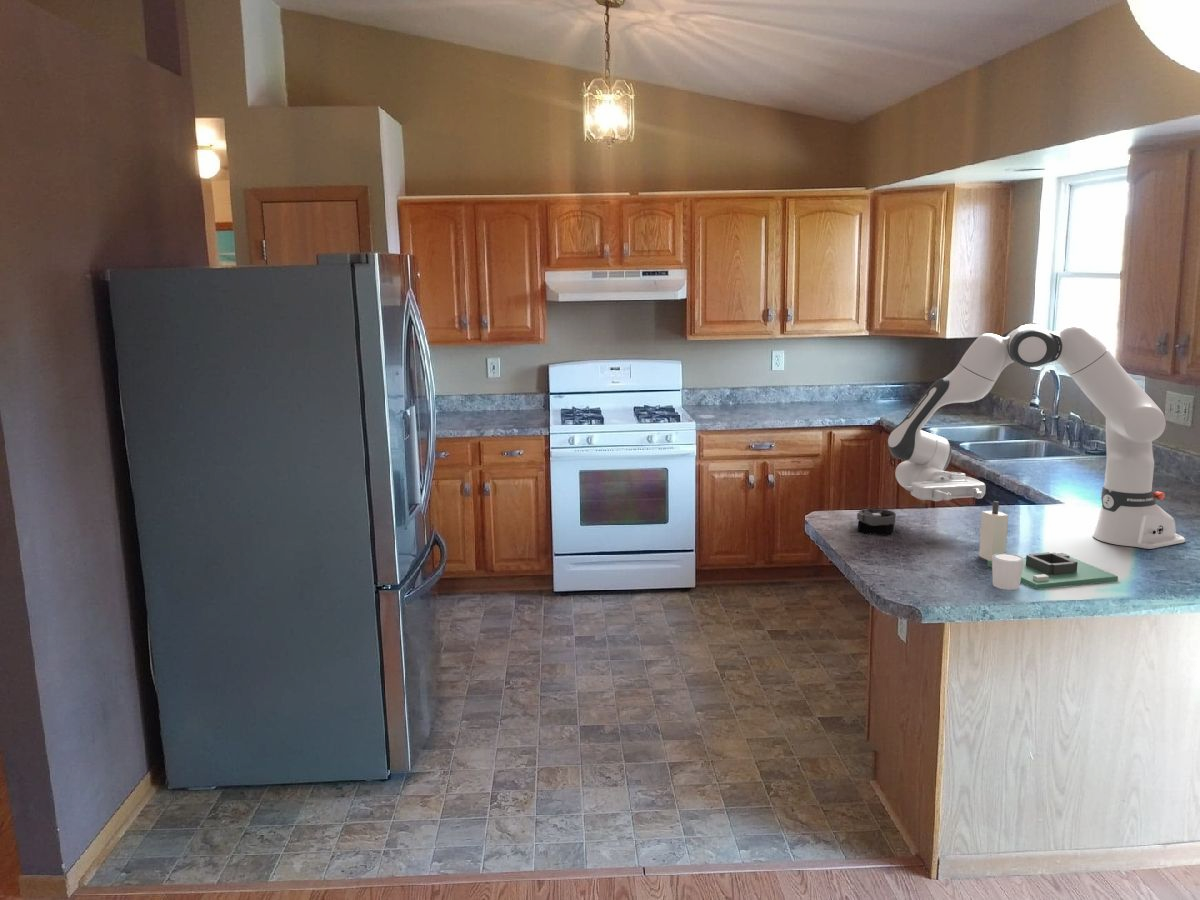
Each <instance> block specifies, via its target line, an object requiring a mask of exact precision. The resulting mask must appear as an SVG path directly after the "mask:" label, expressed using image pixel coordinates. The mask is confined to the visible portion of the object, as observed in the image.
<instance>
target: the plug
mask: <svg viewBox="0 0 1200 900" xmlns="http://www.w3.org/2000/svg"><path fill="white" fill-rule="evenodd" d="M999 507H1000V502H999V501H996V500H994V501H992V509H991V510H984V511H983V510H982V511H981V522H980V533H979V534H980V535H979V554H978V556H979V558H983V559H985V560H987V561H992V555H994V554H999V553H1007V541H1008V540H1007V537H1008V524H1009V514H1006V513H1004V512H1002V511H999Z"/></svg>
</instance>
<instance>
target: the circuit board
mask: <svg viewBox="0 0 1200 900" xmlns="http://www.w3.org/2000/svg"><path fill="white" fill-rule="evenodd" d="M1023 558H1024V564H1023V569H1022V575H1021V580H1020V583H1022V584H1025V585H1027V586H1029V587H1031V588H1033V589H1035V590H1043V589H1045V590H1046V589H1053V588H1054V589H1055V588H1063V587H1072V586H1083V584H1084V585H1091V584H1090V583H1094V584H1102V583H1101V582H1104V583H1113V582H1118V580H1119V576H1118V575H1116V574H1113V573H1111V572H1109V571H1106V570H1104V569H1101V568H1099V567H1096V566H1094V565H1091V564H1089V563H1086V562H1084V561H1081V560H1080V559H1077V558H1074V557H1072V556H1070V555H1069V554H1066V553H1064V552H1059V553H1056V552H1050V551H1049V552H1038V553H1029V554H1027V555H1026V557H1023ZM986 563H987V564H986V566H987V567H989V568H991V569H992V561H988V560H987V561H986Z"/></svg>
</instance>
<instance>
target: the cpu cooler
mask: <svg viewBox="0 0 1200 900" xmlns="http://www.w3.org/2000/svg"><path fill="white" fill-rule="evenodd" d="M896 515H897V513H895V512H894V511H892V510H888V509H885V508H864V509H861V510H859V511H858V512H857V514H856V520H858V522H857V533H860V532H861V533H860V534H863V533H864V534H865V535H867V533H868V535H875V536H876V535H877V536H883V537H884V536H885V537H887V536H892V535H893V532H894V529H895V524H896ZM870 533H871V534H870Z"/></svg>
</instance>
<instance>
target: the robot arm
mask: <svg viewBox="0 0 1200 900" xmlns="http://www.w3.org/2000/svg"><path fill="white" fill-rule="evenodd" d="M1055 361H1056V362H1057V363H1058V364H1060V365H1061V367H1062V368H1063V369H1064V370H1065V372H1066V373H1067V374H1068V375H1069V376H1070V378H1071V379H1072V380H1073V382H1074V383H1075V384H1076V385H1077V386H1078V388H1079V389H1080V390H1081V391H1082V392H1083V394H1084V395H1085V396H1086V397H1087V398H1088V400H1090V402H1091V403H1092V404H1093V405H1094V406H1095V407H1096V408H1097V409H1098V410H1099V412H1101V414H1102V415H1103V416H1104V418H1105V447H1106V448H1105V449H1106V450H1105V452H1106V462H1105V463H1106V465H1105V475H1104V484H1103V486H1102V490H1101V494H1100V499H1101V506H1100V510H1099V515H1098V519H1097V521H1096V522H1097V523H1096V526H1095V528H1094V531H1093V534H1092V536H1093V538H1095V539H1096V540H1099V541H1101V542H1104V543H1108V544H1113V545H1117V546H1125V547H1136V548H1141V549H1147V550H1149V549H1157V548H1158V549H1159V548H1163V547H1168V546H1172V545H1178V544H1184V543H1186V539H1185V537H1184V536H1182V535H1181V534H1178V533H1176V521H1175V519H1174V517H1173V516H1172V515H1170V514H1169V513H1168V512H1166V511H1165V510H1164V509H1163V508H1162V507H1160V506H1159V505H1158V504H1157V501H1156V500H1157V499H1158V500H1160V501H1162V500H1164V498H1165V497H1166V496H1165V495H1166V493H1164V492H1162V491H1153V490H1152V489H1153V481H1154V480H1153V478H1154V469H1155V458H1154V452H1153V451H1154V450H1153V441H1155V440H1157V439H1158V438H1160V437H1161V436H1162V434H1163V433H1164V431H1165V429H1166V426H1167V425H1166V424H1167V422H1166V417H1165V414H1164V413H1163V411H1162V410H1161V408H1160V407H1159V406H1158V405H1157V403H1155V401H1154V400H1153V399H1152V398H1151V397H1150V396H1149V395H1148V393H1146V391H1145V390H1144V389H1142V387H1141V386H1140V385H1139V384H1138V382H1136V380H1134V378H1133V377H1132V376H1131V375H1130V374H1128V372H1127V371H1126V370H1125V368H1124V367H1122V365H1121V364H1120V363H1119V361H1118V360H1117V359H1116V358H1115V356H1114V355H1112V353H1111V351H1110V350H1108V349H1107V347H1106V346H1105V344H1103V342H1102V341H1100V339H1099V338H1098V337H1097V336H1096V335H1095V334H1093V333H1092V332H1091V331H1090V330H1089V329H1088V328H1086V327H1085V326H1084V325H1081V324H1079V323H1074V324H1068V325H1066V326H1063V327H1062V328H1060V329H1059V330H1056V331H1050V330H1048V329H1046V328H1045V327H1044V326H1042V325H1041V324H1039V323H1033V322H1026V323H1023V324H1020V325H1018V326H1016V327H1014V328H1013V329H1011V330H1010V331H1008V332H1006V333H1005V334H1003V335H1002V336H1000V335H998V334H995V333H983V334H981V335H979V336H978V337H977V338H976V339H975V340H974V341H973V342H972V343H971V344H970V346H969V348H968V349H967V350H966V351H965V353H964V354H963V355H962V357H961V359H960V360H959V362H958V364H957V365H956V367H954V369H953V370H951V372H950V373H949V374H947V375H946V376H945V377H942V378H939V379H937V380H936V381H934V382H933V383H932V384H931V386H929V387H928V389H926V391H925V392H924V394H923V395H922V396H921V397H920V399H919V400H918V401H917V402H916V404H915V405H914V406H913V407H912V409H911V410H910V411H909V413H908V414H906V416H905V417H904V419H903V420H902V421H901V422H900V423H899V424H897V426H896V427H894V428H893V429H892V430H891V432H890V433H889V434H888V436H887V440H886V441H887V442H886V443H887V447H888V450H889V453H890V454H891V456H892V457H893V458H895V459H899V460H902V462H900V463H899V464H898V465H897V466H896V468H895V471H894V473H895V478H896V481H897V482H898V484H899V485H900V486H901V487H902V488H904V489H905V490H907V491H908V492H910V495H911V496H913V497H915V498H916V499H917V500H921V501H929V500H930V501H933V502H940V501H951V500H952V499H961V498H962V499H963V498H964V499H965V498H975V499H983V497H984V496H985V494H986V484H985V482H983V481H980V480H978V479H977V478H973V477H970V476H966V473H964V472H959V471H958V472H957V471H956V472H955V471H946V469H947V468H948V466H949V464H950V462H951V458H952V447H951V443H950V442H949V440H948V439H947V438H945V437H943V436H940V435H937V434H935V433H930V432H927V431H925V430H922V428H923V427H924V426H925V425H926V424H927V422H928V421H929V420H930V419H931V417H933V415H934V414H935V413H936V412H937V410H938V409H940V408H941V407H944V406H945V405H950V404H958V403H962V404H963V403H973V402H977V401H979V400H982V399H983V398H984V397H986V396H988V394H989V393H990V392H991V390H992V389H993V387H994V385H995V383H996V382H997V380H998V378H999V377H1000V376H1001V373H1002V372H1003V370H1004V369H1005V368H1007V366H1009V365H1010V364H1012V363H1016V364H1018V365H1019V366H1021V367H1024V368H1037V367H1041V366H1044V365H1046V364H1047V365H1048V364H1049V363H1053V362H1055Z"/></svg>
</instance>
